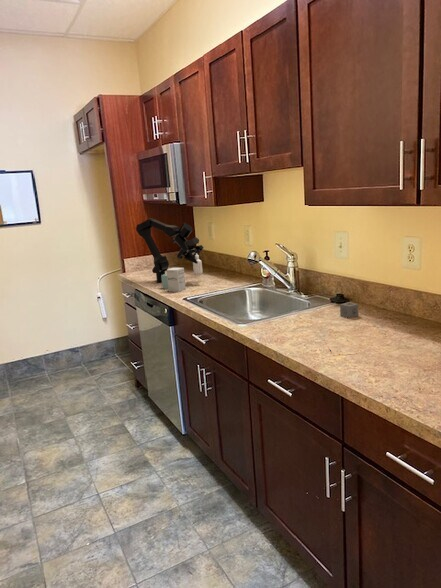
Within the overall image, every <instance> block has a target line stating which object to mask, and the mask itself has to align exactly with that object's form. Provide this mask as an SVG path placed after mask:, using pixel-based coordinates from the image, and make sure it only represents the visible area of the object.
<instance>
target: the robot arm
mask: <svg viewBox="0 0 441 588" xmlns="http://www.w3.org/2000/svg"><path fill="white" fill-rule="evenodd" d="M135 227H136V228H135V231H136V233H137V234H138V235H139V237H141V238H143V240H144V242H145V244H146V246H147V247H148V249H149V251H150V254H151V255H152V257H153V264H154V265H153V268H152V270H151V271H152V273H153V274H156V275H155V277H156V280H155V281H154V282H156V283H157V284H162V278H161V275H164V274H166V272H167V269H169V266H170V263H169V260H168V259H167V256H166V255H162V254H161V252H160V250H159V248H158V245H157V244H156V242H155V240H154V238H153V236H152V228H155V229H157V230H159V231H162V232H163V233H164V234H165V235H166V236H167V237H169V238H172V244H175V243H176V244H177V245H178V246H179V251H178V253H177V254H176V257H177V259H178V260H182V259H184V260H187V261H190V262H191V263H193V262H194V263H196V264H197V263H198V262H197V261H196V259H195V255H196V253H197V255H199V259H200V260H201V261H202V258H201V256H200V254H201V252H202V250H204V245H202V244H201V245H198V244H200V239H199V237H197V236H195V237H193V238H191V239H189V240H188V239H186V238H188V237H189V236H190V234H191V233H192V232H193V227H192V226H191V225H190V224H188V223H187V222H184V223H182V224H181V226H180V227H179V226H178V225H172V224H171V225H170V224H167V223H164V222H161V221H160V220H158V219H156V218H147V219H146V220H145V221H143V222H141V223H139V224H137V225H136V226H135ZM183 256H184V257H183Z"/></svg>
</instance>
